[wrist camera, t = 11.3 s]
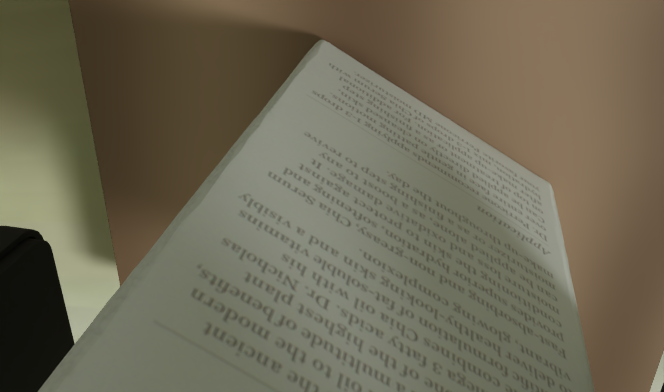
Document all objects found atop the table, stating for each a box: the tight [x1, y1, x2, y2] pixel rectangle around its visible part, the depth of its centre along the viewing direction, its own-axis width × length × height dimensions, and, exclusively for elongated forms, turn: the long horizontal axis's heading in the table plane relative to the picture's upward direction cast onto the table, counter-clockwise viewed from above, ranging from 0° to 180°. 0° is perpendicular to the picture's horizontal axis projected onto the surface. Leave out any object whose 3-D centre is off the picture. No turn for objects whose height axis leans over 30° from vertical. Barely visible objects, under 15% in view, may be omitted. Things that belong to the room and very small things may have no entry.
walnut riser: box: [69, 0, 664, 392], centre depth 16 cm, size 14×12×3 cm
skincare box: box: [38, 40, 595, 392], centre depth 9 cm, size 6×4×12 cm
